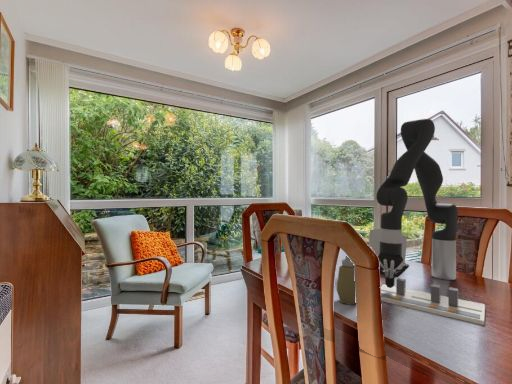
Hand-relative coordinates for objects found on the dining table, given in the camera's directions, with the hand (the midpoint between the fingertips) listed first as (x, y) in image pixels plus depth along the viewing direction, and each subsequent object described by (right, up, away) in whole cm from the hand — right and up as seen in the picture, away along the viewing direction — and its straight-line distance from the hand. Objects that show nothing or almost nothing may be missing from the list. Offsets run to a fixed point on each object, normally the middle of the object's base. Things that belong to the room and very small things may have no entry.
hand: (389, 287), depth 107 cm
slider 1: (+3, -1, -3) cm, 4 cm away
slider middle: (+11, -2, -9) cm, 15 cm away
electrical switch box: (+18, -3, +40) cm, 44 cm away
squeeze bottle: (-17, -3, -7) cm, 19 cm away
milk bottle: (-2, -3, +25) cm, 25 cm away
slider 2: (+15, -2, -13) cm, 20 cm away
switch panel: (+9, -3, -8) cm, 12 cm away
